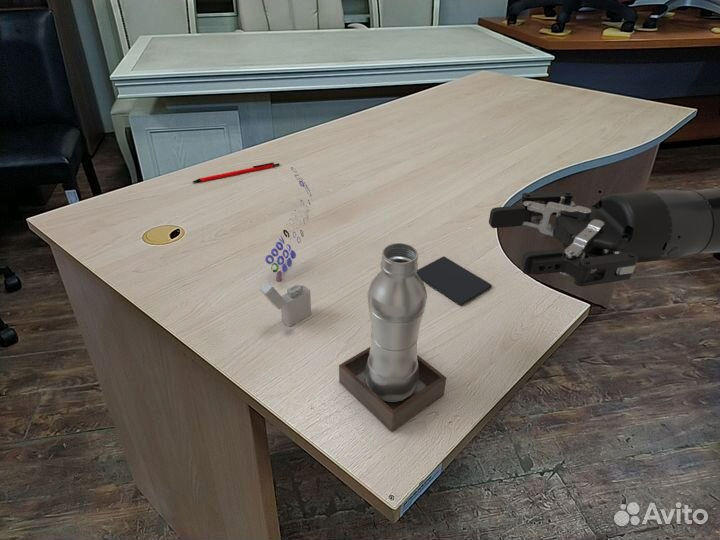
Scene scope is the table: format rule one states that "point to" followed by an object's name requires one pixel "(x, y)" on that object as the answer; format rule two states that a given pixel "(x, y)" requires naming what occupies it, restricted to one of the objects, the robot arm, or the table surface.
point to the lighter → (290, 302)
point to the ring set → (292, 253)
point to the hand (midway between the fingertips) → (505, 239)
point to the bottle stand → (378, 406)
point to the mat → (453, 280)
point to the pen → (236, 172)
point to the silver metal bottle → (395, 324)
